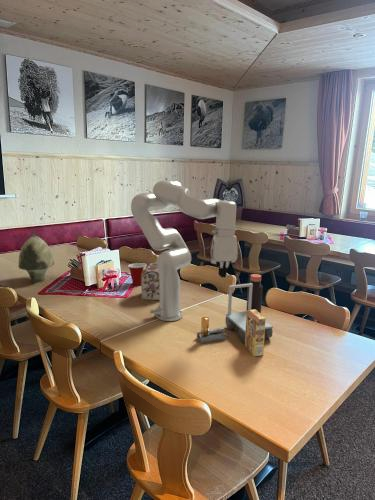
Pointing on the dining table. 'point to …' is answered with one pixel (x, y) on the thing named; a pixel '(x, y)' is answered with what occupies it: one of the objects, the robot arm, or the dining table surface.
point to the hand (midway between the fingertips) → (222, 276)
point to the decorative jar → (150, 282)
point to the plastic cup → (136, 272)
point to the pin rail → (211, 337)
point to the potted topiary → (35, 258)
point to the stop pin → (205, 328)
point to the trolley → (243, 315)
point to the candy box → (255, 332)
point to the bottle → (255, 293)
